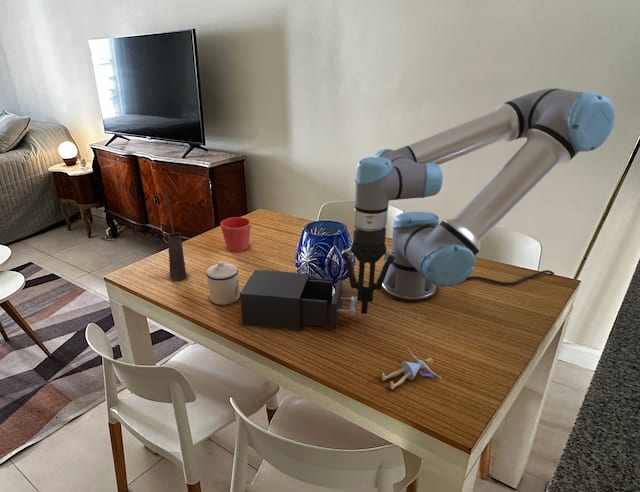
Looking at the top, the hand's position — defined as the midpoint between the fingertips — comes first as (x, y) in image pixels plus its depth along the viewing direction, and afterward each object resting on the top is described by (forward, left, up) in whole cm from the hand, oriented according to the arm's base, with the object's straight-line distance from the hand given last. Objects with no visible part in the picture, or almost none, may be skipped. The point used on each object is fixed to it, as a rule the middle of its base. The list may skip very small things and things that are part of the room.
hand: (364, 311), depth 117 cm
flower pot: (+49, -41, -4) cm, 64 cm away
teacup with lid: (+42, -7, -4) cm, 42 cm away
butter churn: (+60, -15, -4) cm, 62 cm away
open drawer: (+12, 0, -3) cm, 12 cm away
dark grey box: (+24, 0, -4) cm, 24 cm away
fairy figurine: (-11, +20, -4) cm, 23 cm away
